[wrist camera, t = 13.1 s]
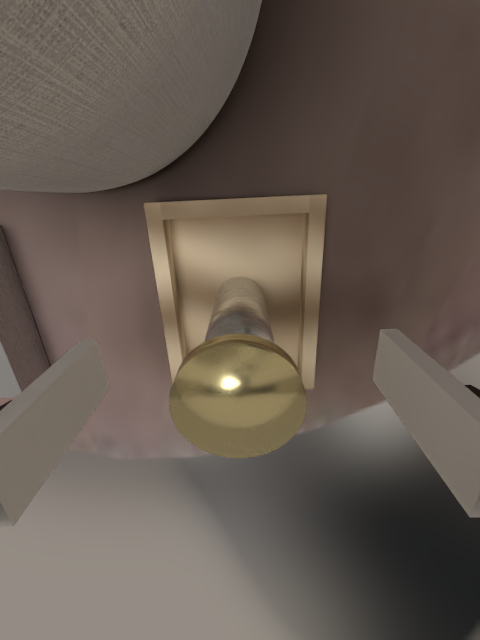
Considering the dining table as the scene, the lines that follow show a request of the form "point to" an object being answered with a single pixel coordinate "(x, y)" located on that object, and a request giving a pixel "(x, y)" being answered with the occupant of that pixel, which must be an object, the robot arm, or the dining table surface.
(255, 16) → the planter
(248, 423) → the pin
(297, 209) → the tray
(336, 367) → the dining table surface
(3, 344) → the block
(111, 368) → the dining table surface
